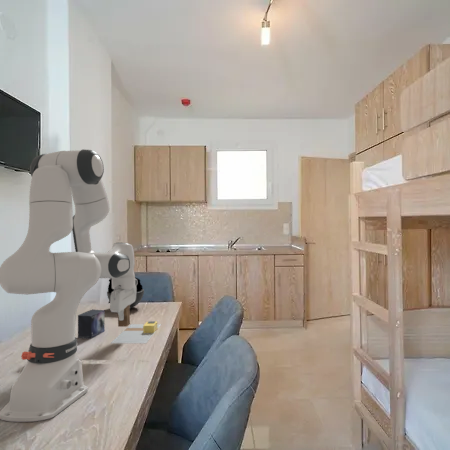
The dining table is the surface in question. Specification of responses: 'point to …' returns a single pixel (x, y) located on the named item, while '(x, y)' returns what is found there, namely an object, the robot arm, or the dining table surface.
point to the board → (134, 335)
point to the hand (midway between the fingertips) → (123, 318)
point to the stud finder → (150, 327)
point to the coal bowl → (138, 292)
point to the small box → (91, 324)
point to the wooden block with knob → (127, 318)
